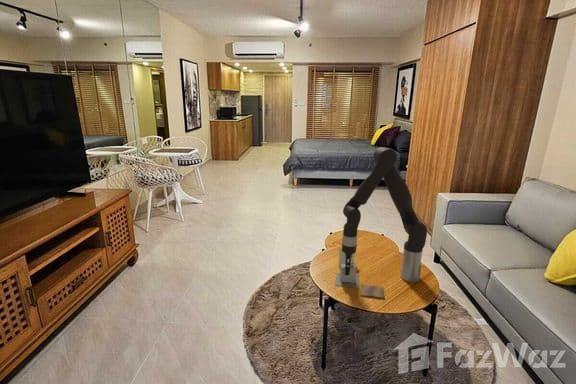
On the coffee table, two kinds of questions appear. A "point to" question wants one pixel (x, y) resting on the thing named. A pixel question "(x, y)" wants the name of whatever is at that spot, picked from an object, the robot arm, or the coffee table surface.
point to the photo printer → (342, 255)
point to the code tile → (347, 284)
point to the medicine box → (352, 273)
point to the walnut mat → (372, 291)
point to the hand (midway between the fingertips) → (347, 270)
